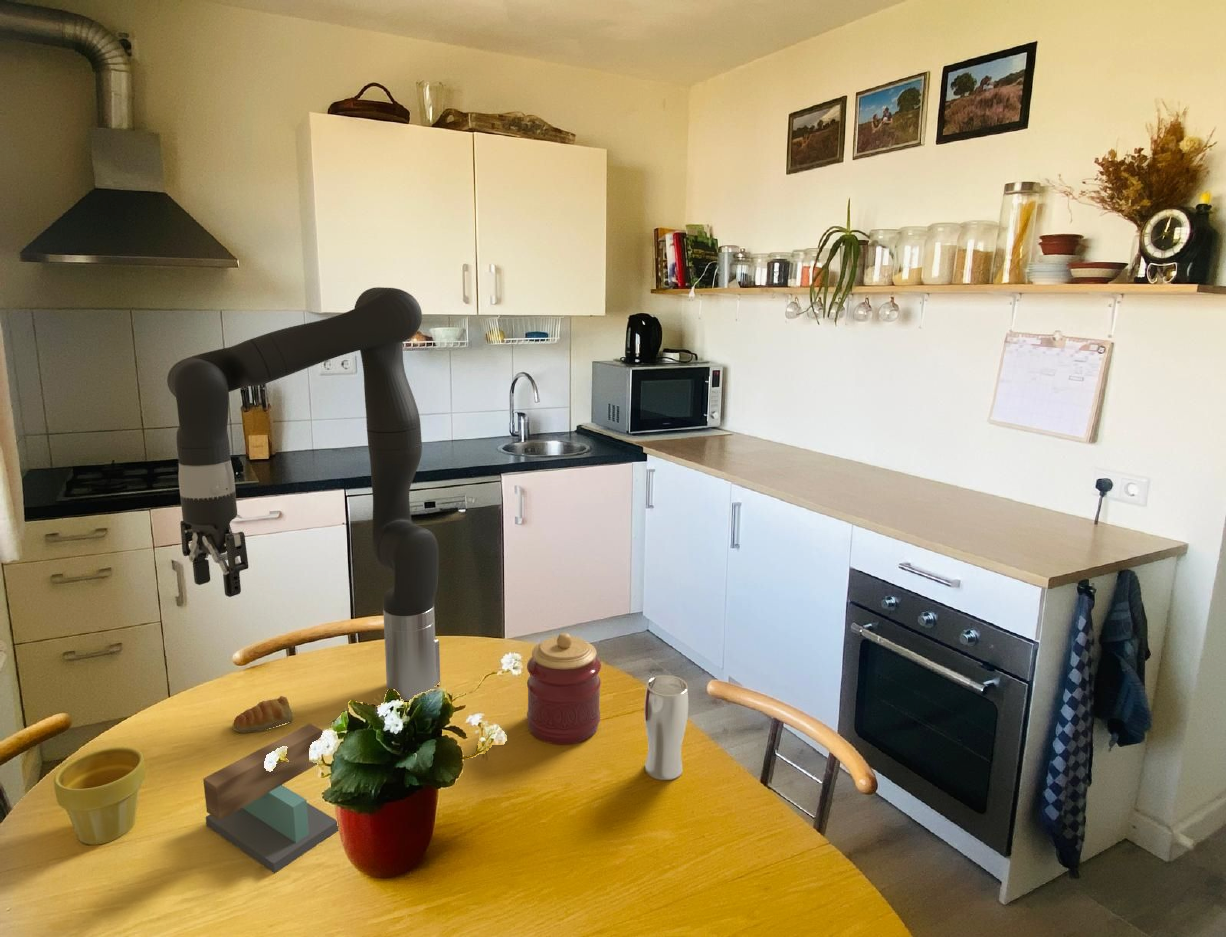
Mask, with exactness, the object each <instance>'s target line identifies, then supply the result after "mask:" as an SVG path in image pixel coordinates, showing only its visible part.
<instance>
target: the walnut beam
mask: <svg viewBox="0 0 1226 937" xmlns="http://www.w3.org/2000/svg"><path fill="white" fill-rule="evenodd" d="M322 733H323V734H324V730H323V729H321V728H320V727H318V726H316V725H314V724H312V723H308V724H306V725H304V726H302V727H300V728H298V729H296V730H294V731H292V732H290V733H288V734H287V735H284V736H283V737H281V738H279V739H277V740H275V741H272V742H271V743H269V744H267V745H265V746H263V747H261V748H259V749H257V750H255V751H253V752H252V753H249V754H248V755H246V756H244V757H242V758H241V759H238V760H237V761H235V762H231V763H230V764H228V765H226V766H225V767H223V768H221V769H219V770H216V771H214V772H213V773H211V774H209V775H207V776H205V777H204V778H202V780H203V790H204V798H205V809H206V813H208V815H210V814H211V815H212V816H214V817H215V818H217V819H218V820H221V819H223V818H225V817H227V816H228V815H230V814H232V813H234V812H235V811H237V810H239V809H241V808H242V807H244V806H246V805H248V804H249V803H251V802H253V801H255V800H256V799H258V798H260V797H262V796H263V795H265V794H267V793H269V792H270V791H272V790H274V789H275V788H277V787H279V786H281V785H285V784H286V783H288V782H289V781H291V780H293V779H294V778H296V777H298V776H300V775H301V774H303V773H305V772H307V771H308V770H310V769H312V768H314V767H316V766H317V765H318V764H317V763H313V762H309V748H310V745H311V744H312V742H314V741H316V740H318V739H319V738H320V737H321V735H322ZM282 746H287V747H288V748H287V754H286V758H287V759H288V760H289V762H286V761H283V762H279V763H278V764H276V767H275V768H274V769H273V771H271V772H269V771H266V769H265V768H264V761H265V758H266V755H267V754H269V753H271V752H272V751H275V750H276V749H277V748H280V747H282Z"/></svg>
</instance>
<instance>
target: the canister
mask: <svg viewBox="0 0 1226 937" xmlns="http://www.w3.org/2000/svg"><path fill="white" fill-rule="evenodd" d="M597 654H598V653H597V649H596V648H595V646H594V645H592V644H591V643H589V642H587V641H586V640H585V639H583V638H580V637H577V636H572V635H570V634H569V633H567V632H563V633H560V634H558V635H557V636H552V637H549V638H547V639H545V640H543V641H541V642H540V643H538V644H536V645H535V646H534V647H533V648H532V651H531V657H530V658H529V660H528V661H527V664H526V669H527V673H529V677H528V679H527V681H526V685H527V712H526V717H527V718H526V721H527V724H528V729H529V732H530V733H531V734H532V736H534V738H536V739H539V740H541V741H543V742H545V743H549V744H554V745H571V744H576V743H580V742H583V741H586V740H587V739H589V738H591V737H593V735H595V733H596V732H597V731H598V728H599V724H600V721H601V711H600V710H601V709H600V695H601V694H600V691H601V686H602V685H601V682H602V681H601V679H600V676H599V673H600V671H601V669H602V663H601V660H600V659H599V657H597Z"/></svg>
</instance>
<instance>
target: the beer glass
mask: <svg viewBox="0 0 1226 937" xmlns="http://www.w3.org/2000/svg"><path fill="white" fill-rule="evenodd" d="M688 690H689V686H688V684H687V682H686V681H685V680H684V679H682V678H680V677H678V676H675V675H664V674H663V675H656V676H654V677H653V676H652V677H651V678H650V679H648V680H647V681H646V689H645V695H644V696H645V697H644V710H643V712H644V713H643V715H644V725H645V733H646V738H647V744H648V745H647V747H648V748H647V749H648V750H647V757H646V760H645V764H644V769H645V772H646V773H647V775H648V776H650V777H652V778H654V779H656V780H659V781H671V780H675V779H677V778H678V777H680V776H681V775H682V773H683V763H682V746H683V740H684V736H685V732H686V728H687V723H688V716H689V693H688Z"/></svg>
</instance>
